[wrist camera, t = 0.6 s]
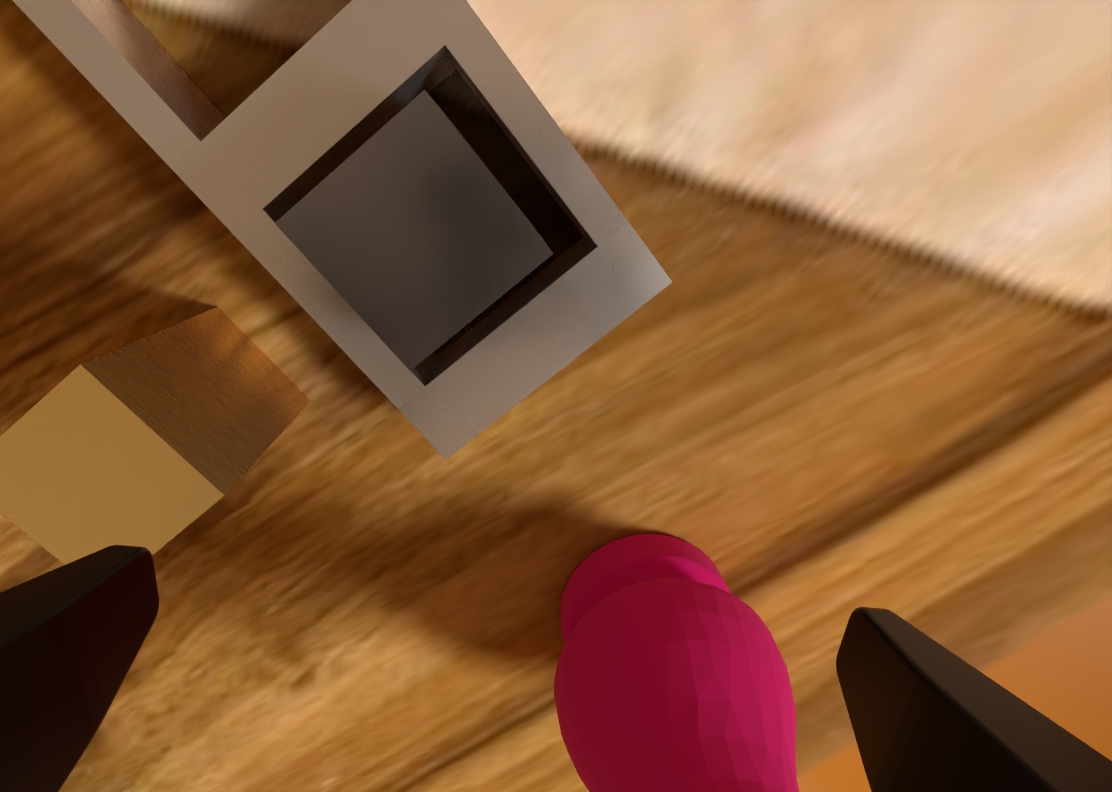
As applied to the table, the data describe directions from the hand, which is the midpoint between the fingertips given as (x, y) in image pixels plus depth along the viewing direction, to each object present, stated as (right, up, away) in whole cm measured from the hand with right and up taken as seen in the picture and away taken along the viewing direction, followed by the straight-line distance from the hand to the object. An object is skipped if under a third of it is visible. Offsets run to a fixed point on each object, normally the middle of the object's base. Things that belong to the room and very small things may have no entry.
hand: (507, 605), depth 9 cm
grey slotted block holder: (-5, +11, +11) cm, 16 cm away
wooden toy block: (-10, +3, +13) cm, 17 cm away
